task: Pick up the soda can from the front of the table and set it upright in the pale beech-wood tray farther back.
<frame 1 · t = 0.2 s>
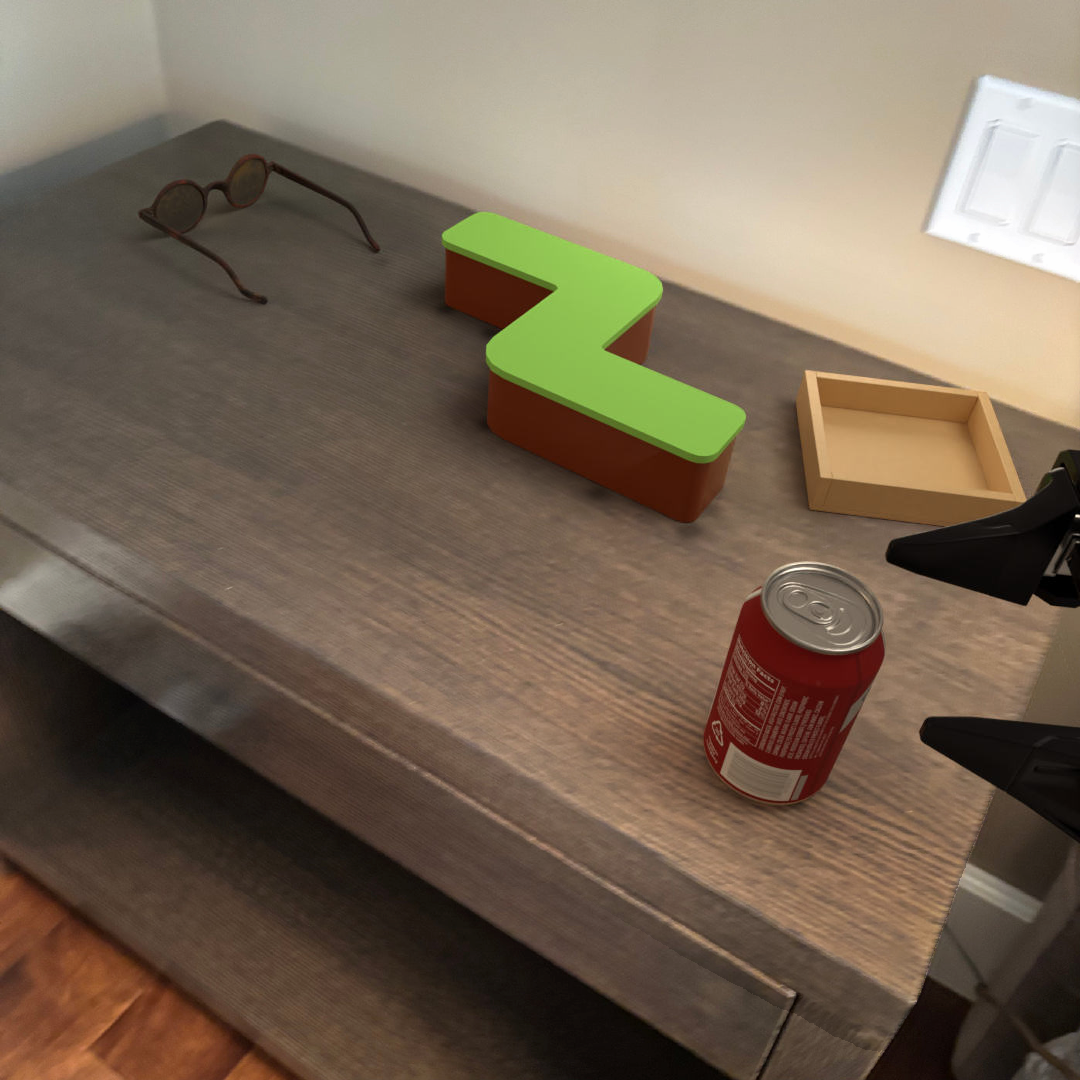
hand: (903, 632, 40), 16 cm above the table, tool horizontal, fingers open, 9 cm apart
planter: (571, 385, 78), on the table
eyeglasses: (268, 249, 90), on the table
tray: (896, 463, 74), on the table
soda can: (762, 759, 55), on the table
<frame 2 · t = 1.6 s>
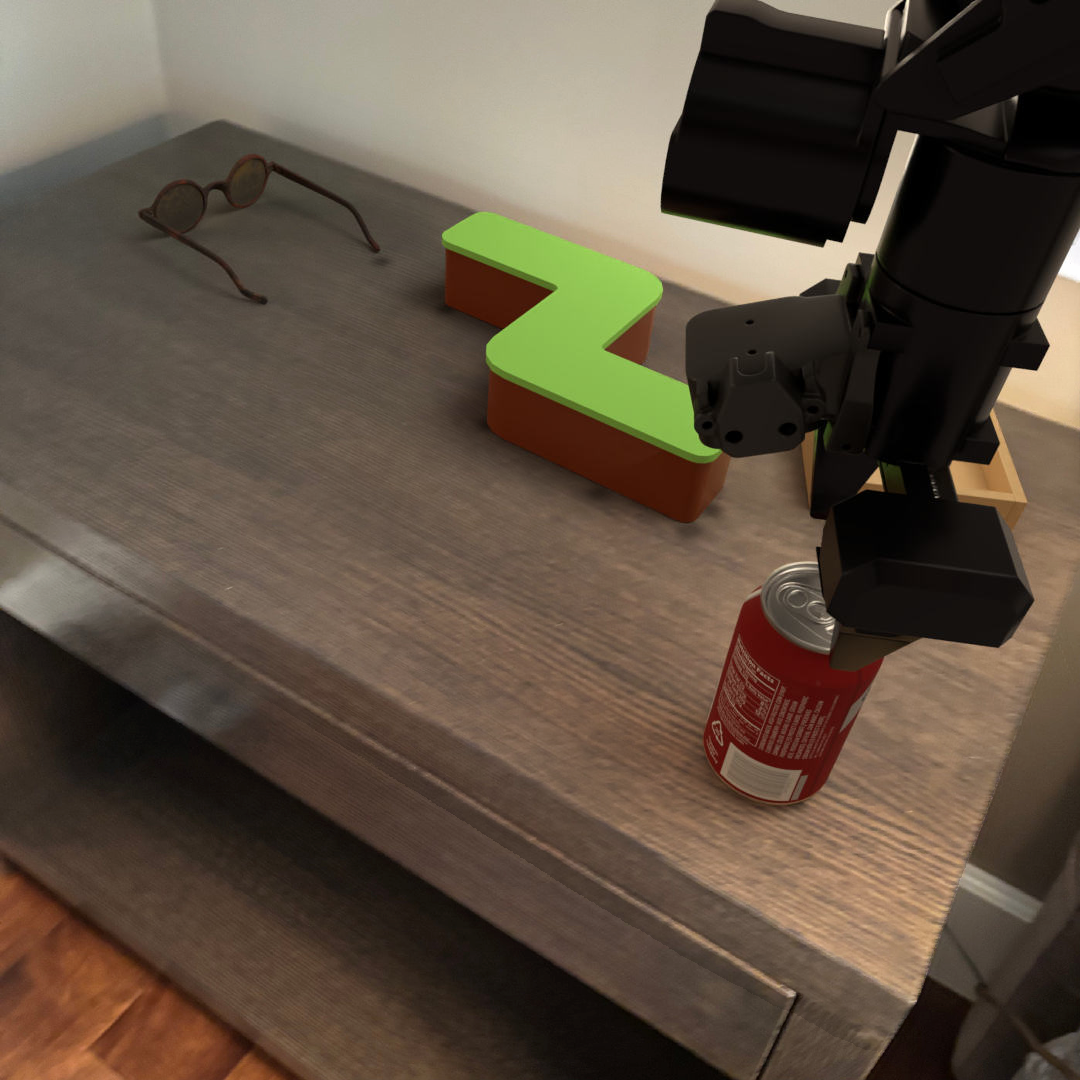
hand: (829, 586, 45), 13 cm above the table, tool pointing down, fingers open, 9 cm apart
nothing on the table moved.
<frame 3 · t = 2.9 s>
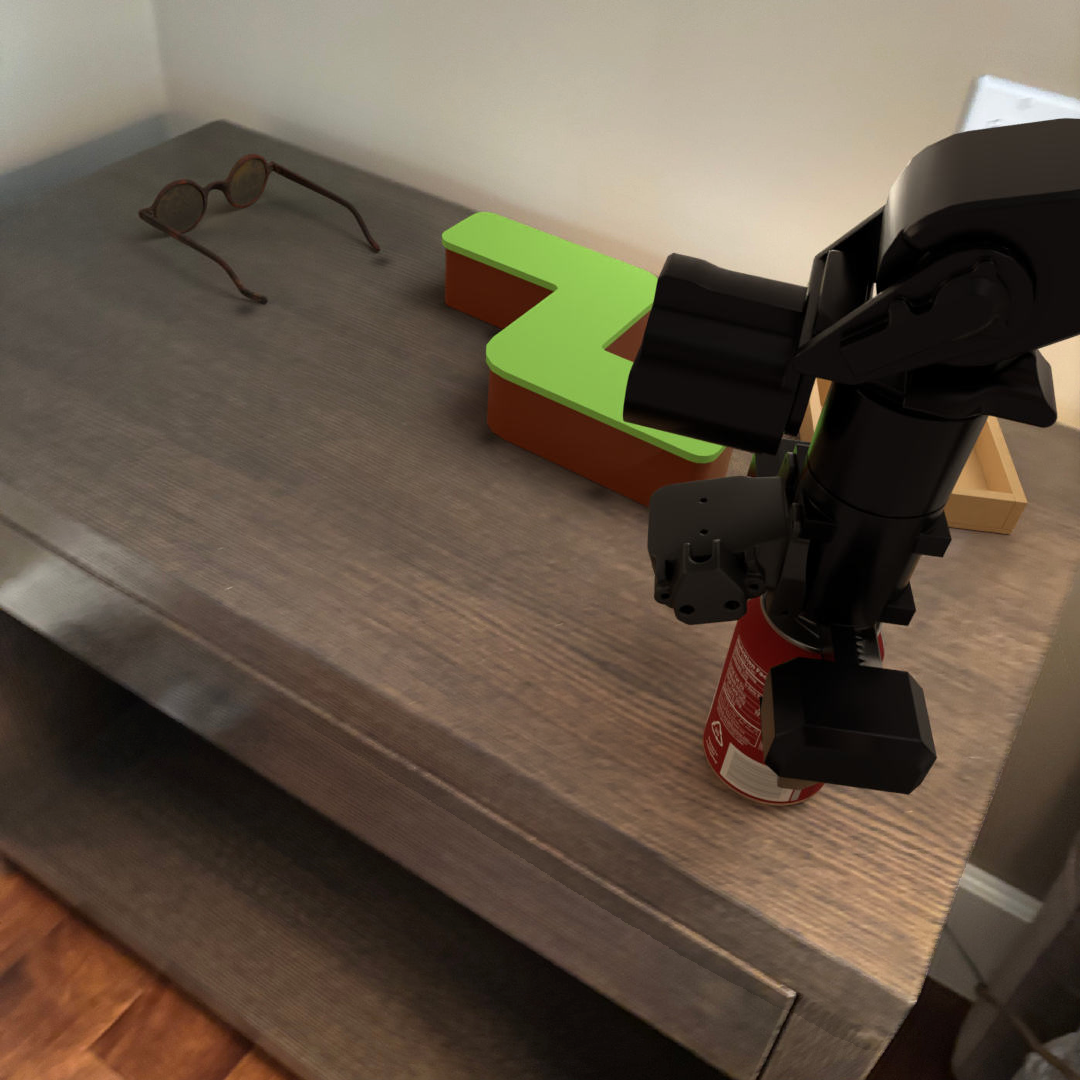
hand: (781, 707, 51), 4 cm above the table, tool pointing down
soda can: (762, 759, 55), on the table, touching gripper
everything else where it was.
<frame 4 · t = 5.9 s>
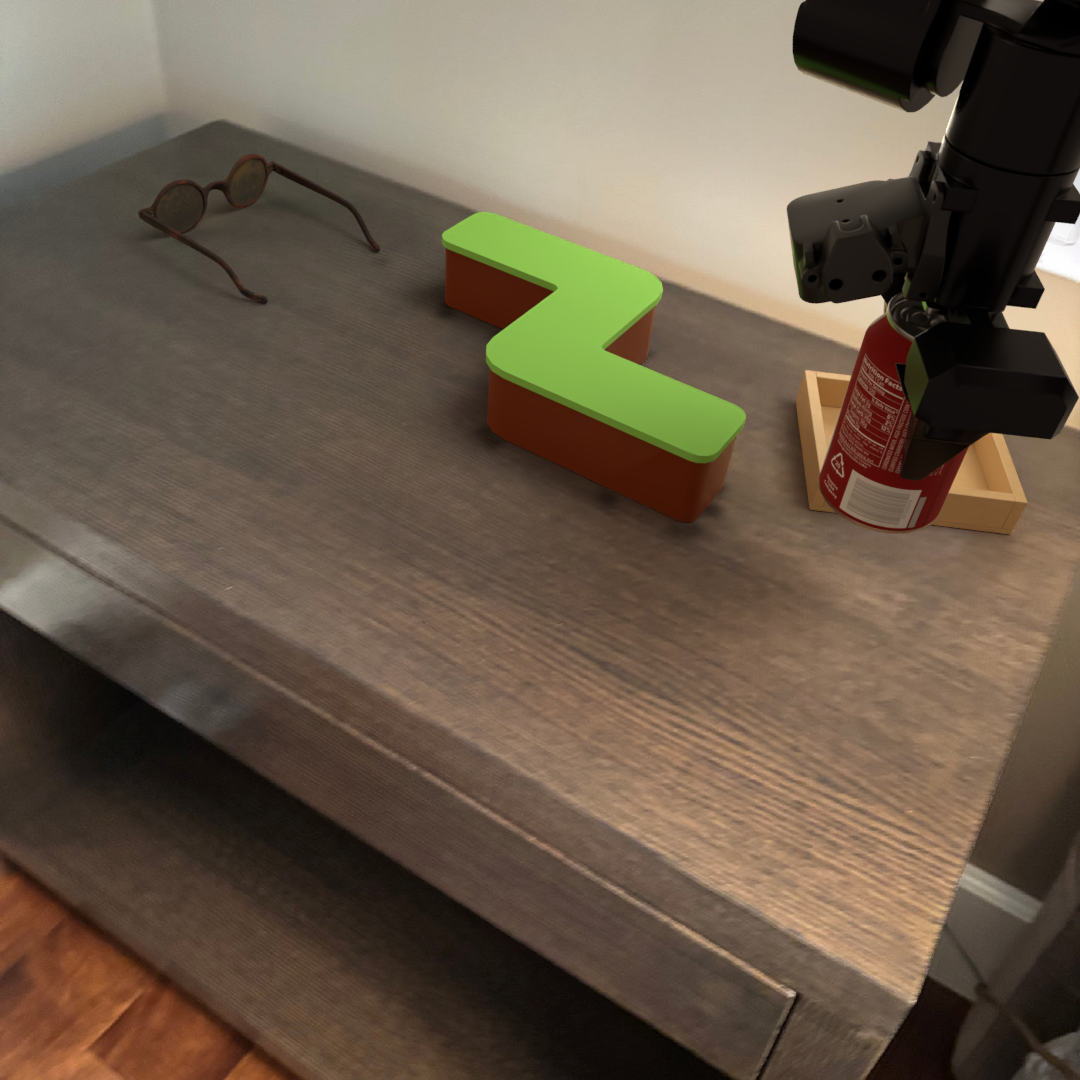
hand: (898, 435, 55), 13 cm above the table, tool pointing down, fingers closed on soda can, 7 cm apart
soda can: (874, 503, 58), point 8 cm above the table, touching gripper
everything else where it was.
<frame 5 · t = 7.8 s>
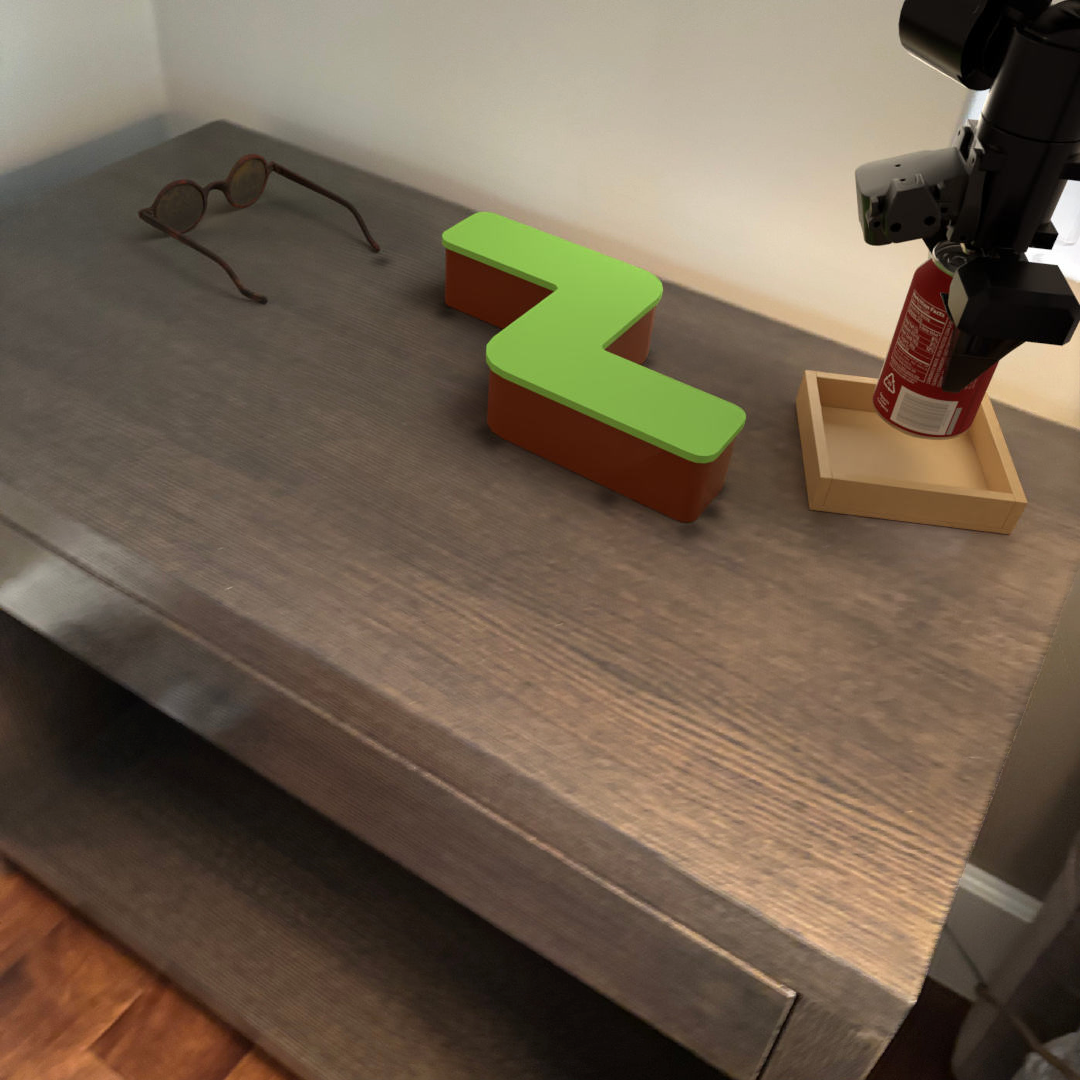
hand: (939, 360, 67), 9 cm above the table, tool pointing down, fingers closed on soda can, 7 cm apart
soda can: (917, 419, 71), point 4 cm above the table, touching gripper
everything else where it was.
when the fingers open (5 cm above the table, at t = 9.1 s): soda can stays where it is, resting on tray.
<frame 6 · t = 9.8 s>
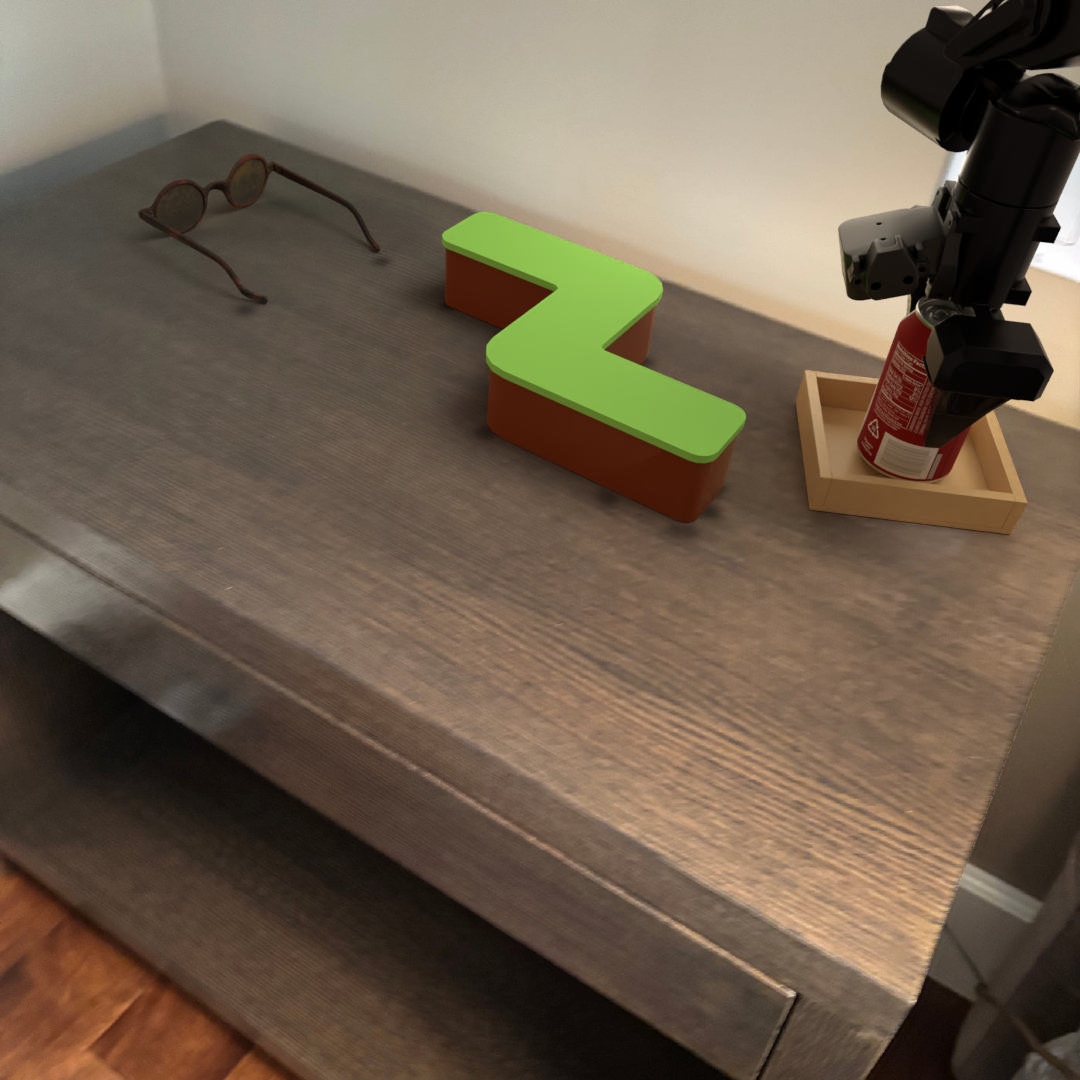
hand: (919, 404, 70), 5 cm above the table, tool pointing down, fingers open, 9 cm apart
soda can: (900, 462, 74), resting on tray
everything else where it was.
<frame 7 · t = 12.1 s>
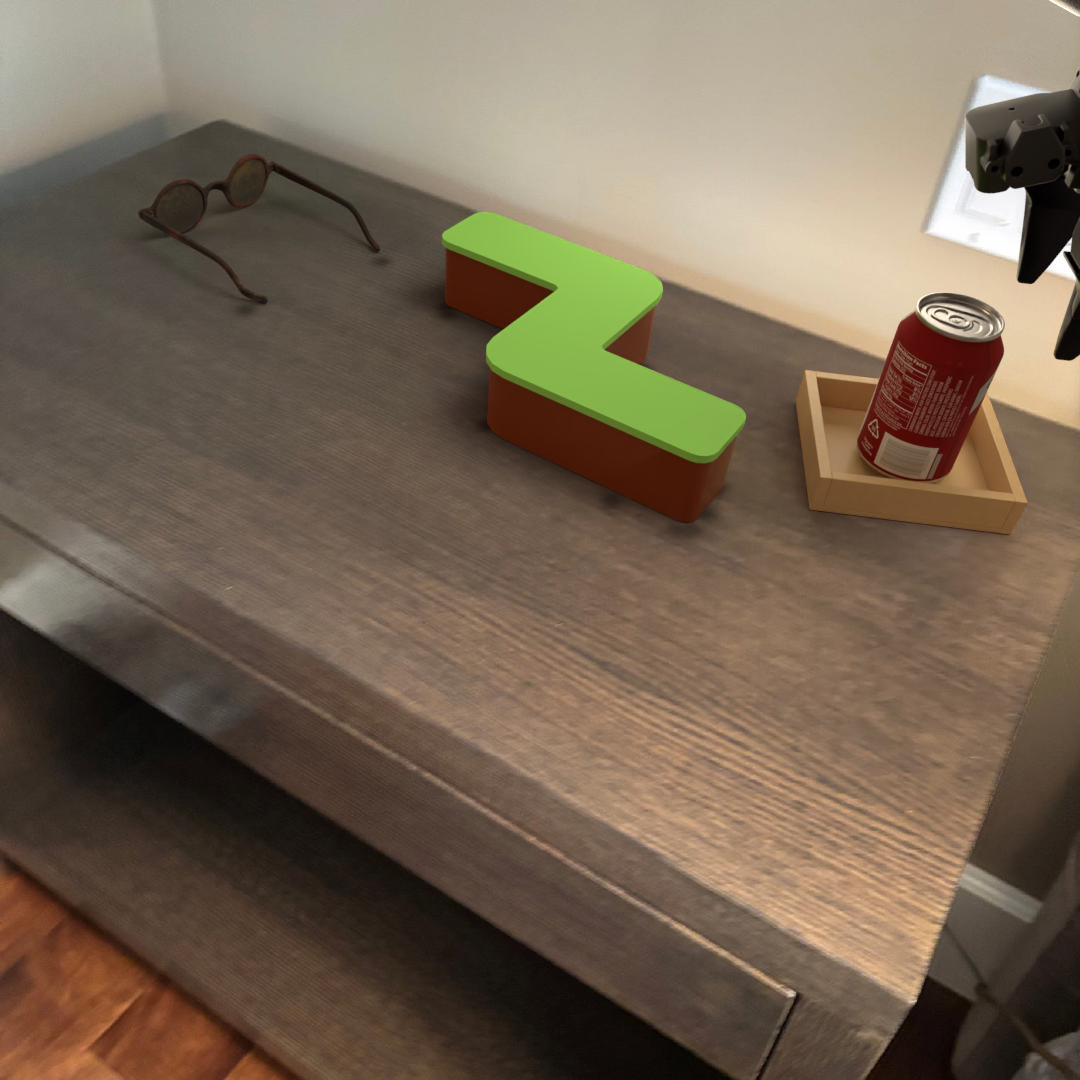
hand: (1042, 318, 65), 13 cm above the table, tool pointing down, fingers open, 9 cm apart
nothing on the table moved.
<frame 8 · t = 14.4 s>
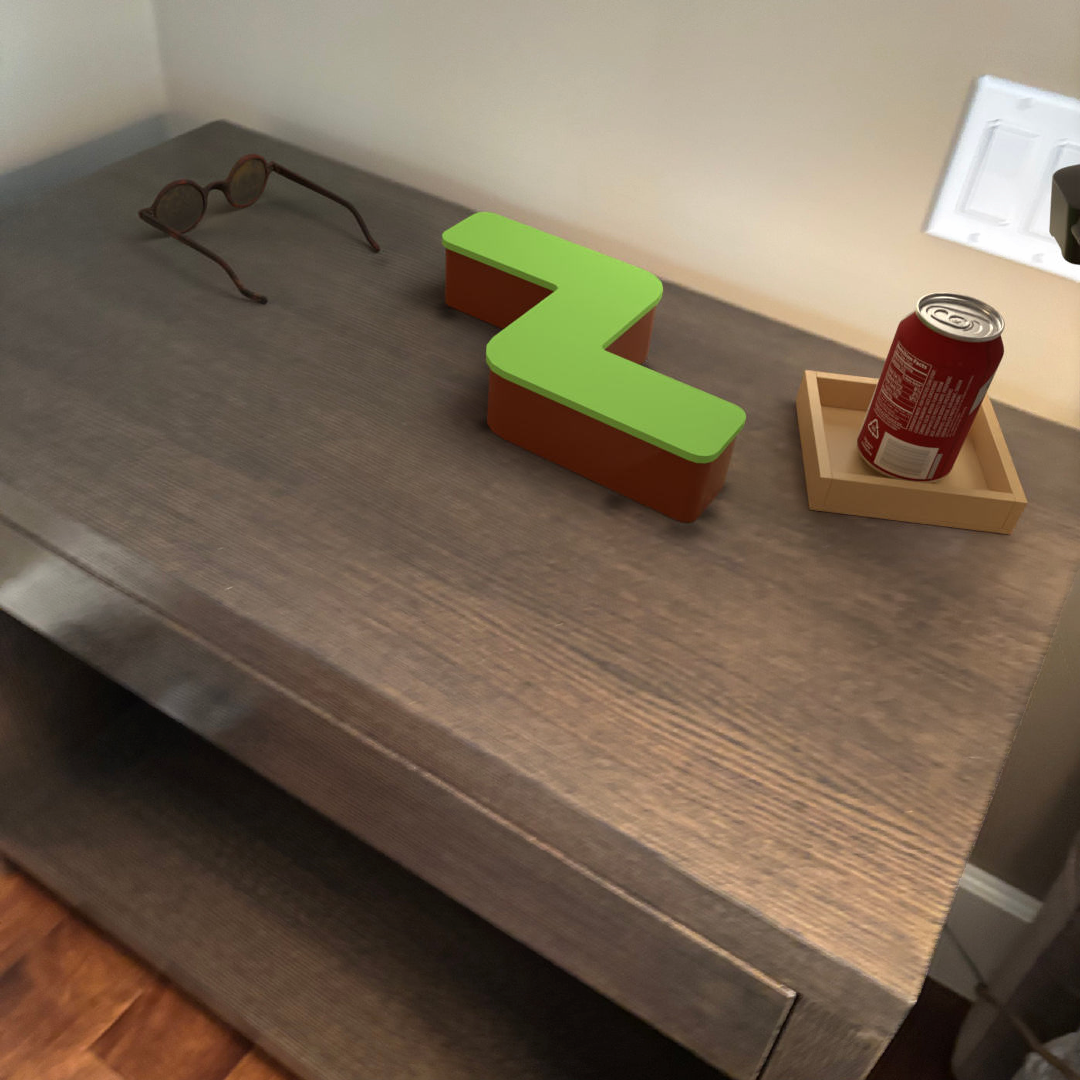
nothing on the table moved.
at the end: soda can inside the target area in the tray (0.2 cm from its centre), point 0.2 cm above the tray's base; soda can tilted 0°; the gripper is holding nothing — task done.
